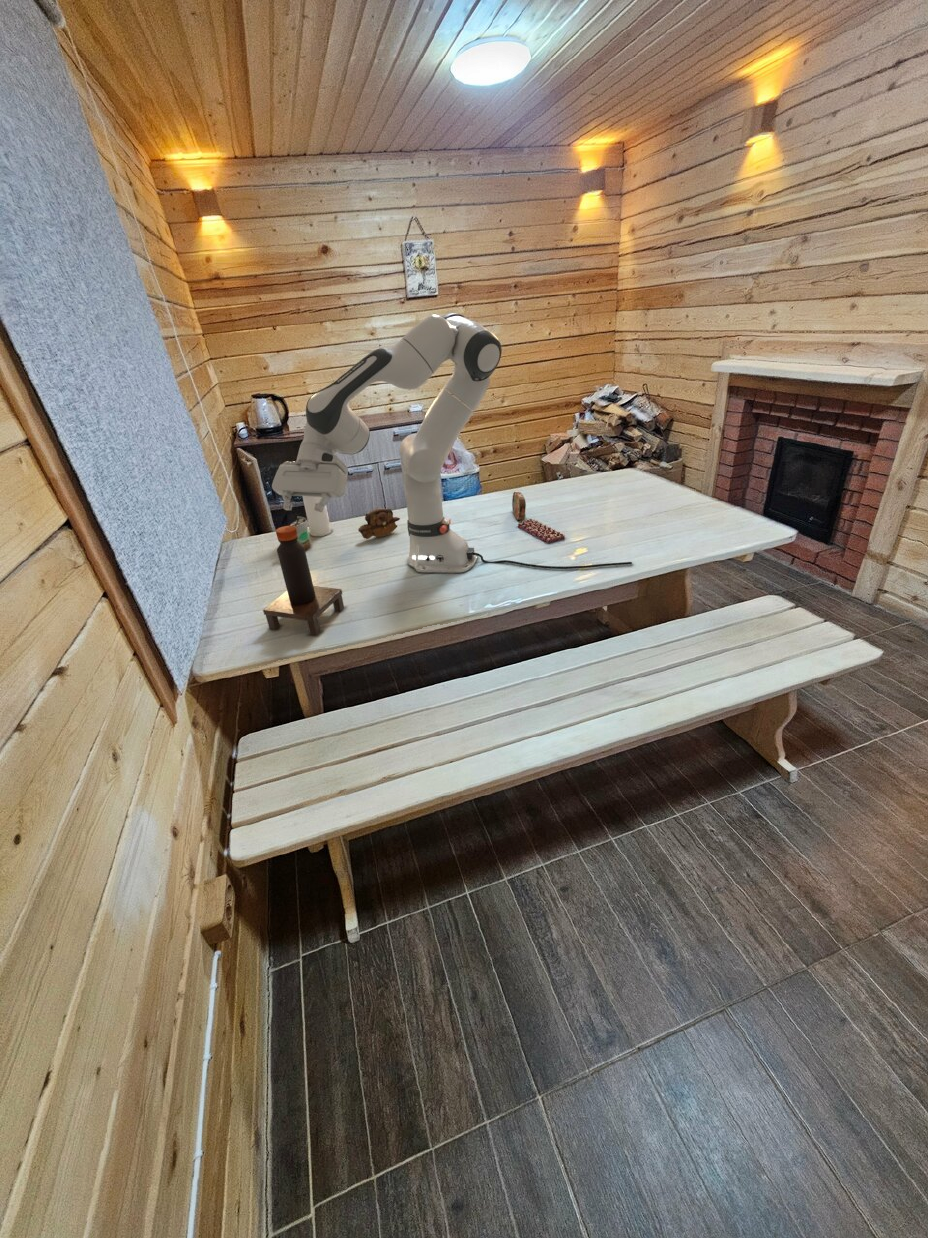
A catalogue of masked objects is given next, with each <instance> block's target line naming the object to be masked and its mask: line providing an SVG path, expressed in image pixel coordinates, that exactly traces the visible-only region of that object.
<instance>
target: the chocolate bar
mask: <svg viewBox="0 0 928 1238" xmlns="http://www.w3.org/2000/svg"><path fill="white" fill-rule="evenodd" d="M521 521H522V522H519V523H517V528H518V529H520V530H522V531H524V532H526V533H528V534H529V535H532V537H535V538H537V539H539V540H541V541H542V542H544V543H546V544H550V543H555V542H557V541H561V540H565V537H566V535H565V534H564V533H563V532H561V531H557V530H556V529H555V528H551V526H547V524H544V523H542V522H539V521H538V520H536V519H532V518H529V519H526V520H521Z"/></svg>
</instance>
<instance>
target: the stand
mask: <svg viewBox="0 0 928 1238" xmlns="http://www.w3.org/2000/svg"><path fill="white" fill-rule="evenodd" d="M313 587H314V592H315V599H314V600H313V601H311V602H309V603H307V604H303V605H295V604H292V603H291V602H290V599H289V596H288V592H287V590H286V591H284V592H283V593H282V594H281V595H280V596H279V597H277V598H276V599H274V600H273V601H272V602H271V603H270V604H268V605H267V606H266V607H265V608H263V609H262V611H263V615H265V618H266V622H267V625H268V629H269V630H276V631H277V629H279V628H280V627H281V624H280V620H279V618H285V619H291V620H292V619H293V620H300V621H306V622H307V627H308V631H309V634H310V636H318V635H319V634H320V633H321V632H322V631H321V625H320V621H319V617H320V616H322V614H323V613H324V612H325V611H326V610H327V609H328V608H329V607H330V606H332V604H333V609H334V611H335V612H342V611H343V610H344V609H345V604H344V599H343V590H342V588H337V587H336V588H335V587H334V588H333V587H327V586H326V587H325V586H318V585H313Z"/></svg>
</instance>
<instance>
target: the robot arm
mask: <svg viewBox="0 0 928 1238" xmlns="http://www.w3.org/2000/svg"><path fill="white" fill-rule="evenodd" d="M502 348H503V347H502V344H501V342H500V341H499V338H498V337H497V336H496V335H495V334H494V333H493V332H492V331H490V330H488V329H487V328H486V327H484V326H483V325H482V324H480V323H478V322H477V321H475V320H472V319H470V318H468V317H465V315H463V314H461V313H455V312H452V313H447V314H443V316H442V315H439V314H430V315H428V316H426V317H425V318H424V319H422V320H421V321H419V322H418V323H417V324H415V326H413V327H412V328H411V329H410V330H409V331H408V332H407V333H406V334H405V335H404V336H403V337H402V338H401V339H400V340H399V341H398V342H397V343H396V344H394V345H392V346H390V347H388V348H382V347H379V348H377V349H375V350H373V351H370V352H369V353H368V354H367V355H365V356H364V357H363V358H361V359H360V360H359V361H358V362H356V363H355V364H354V365H353V366H352V367H350V368H349V369H348V370H346V371H345V372H344V373H342V374H341V375H339V377H337V378H336V379H335V380H333V382H331V383H330V384H328V385H327V386H325V387H323V388H321V389H320V390H318V391H316V392H314V393H313V394H312V395H311V396H310V397H309V398H308V400H307V401H306V406H305V417H306V418H305V419H306V422H305V426H304V429H303V439H302V441H301V443H300V445H299V449H298V452H297V456H296V460H295V461H293V460H292V461H289V460H287V461H284V462H283V463H281V464H280V465H279V466H278V469H277V471H276V473H275V475H274V477H273V481H272V484H271V489H272V490H273V491H274V492H275V493H276V494H278V495H279V496H281V497H282V500H283V505H282V508H283V509H284V511H292V509H293V504H292V503H291V499H292V496H293V497H302V496H312V497H322V499H321V500H320V502H319V503H316V504H315V508H314V509H315V511H317V512H323V509H324V506H325V505H326V506H327V505H328V504H329V502H330V501H331V498H335V499H337V498H338V499H340V498H341V499H342V497H343V496H344V495H345V494H346V489H347V484H348V477H347V473H348V471H349V468H348V466H347V465H346V464H345V462H344V461H343V460H342V459H340V457H339V456H338V455H336V453H338V454H342V455H356V454H359V453H361V452H362V451H363V450H365V448H366V447H367V445H368V443H369V440H370V434H371V433H370V428H369V426H368V425H367V424H366V423H365V422H364V420H362V418H361V417H360V416H359V415H358V414H357V413H355V412H354V411H353V410H352V408H350V406H349V402H351V401H352V400H353V399H354V398H355V397H357V396H358V395H360V393H361V392H363V391H364V390H365V389H366V388H368V387H369V386H370V385H372V384H374V383H377V382H385V383H388V384H389V385H392V386H395V387H397V388H399V389H402V390H416V389H419V388H420V387H422V386H423V385H424V384H425V383H426V382H427V381H428V380H429V379H430V378H431V377H432V376H433V375H434V374H435V373H436V371H437V370H438V369H439V368H440V367H441V365H442V364H443V363H444V362H446V361H448V360H450V361H451V362H452V363H454V367H453V372H452V374H451V376H450V377H449V378H448V379H447V381H446V382H445V383H444V385H443V386H442V388H441V390H440V391H439V392H438V394H437V395H436V397H435V399H434V400H433V402H432V403H431V404H430V406H429V408H428V409H427V411H426V413H425V416H424V419H423V420H422V422H421V425H420V426H419V428H418V431H417V432H415V433H411V434H408V435H407V436H405V437H404V438H403V439H402V441H401V443H400V446H399V460H400V467H401V474H402V481H403V488H404V494H405V501H406V513H407V522H406V523H407V532H408V537H409V553H408V559H407V563H408V565H409V566H410V567H412V568H413V569H415V571H416V572H417V573H451V574H452V573H455V574H456V573H465V572H467V571H469V570H470V569H472V567H474V565H475V564H476V562H477V559H478V557H479V558H480V560H481V562H482V563H484V564H503V563H505V564H506V563H507V564H512V565H513V564H514V565H520V566H525V567H531V568H537V569H538V568H539V569H549V570H551V569H552V570H574V569H589V568H591V569H592V568H599V567H600V568H601V567H611V566H624V565H625V566H626V565H632V564H633V561H623V562H610V563H599V564H598V563H597V564H589V565H588V564H587V565H571V566H570V565H569V566H560V565H559V566H556V565H555V566H554V565H540V564H531V563H525V562H520V561H515V560H509V559H507V560H506V559H503V560H494V561H488V560H485V559H484V556H483V555H482V554H480V553H478V552H475V547H469V544H468V542H467V540H466V538H464V537H462V536H461V535H459V534H458V533H457V532H455V531H453V530H452V529H451V528H450V527H451V526H450V524H451V521H452V519H448V520H447V518H445V516H444V509H443V497H442V496H443V495H442V488H441V484H440V477H439V476H440V474H441V472H442V469H443V466H444V465H445V462H446V461H447V459H448V457H449V455H450V453H451V451H452V449H453V447H454V445H455V442H456V441H457V439H458V437H459V436H460V434H461V432H462V431H463V429H464V428H465V427H466V425H467V423H468V422H469V420H470V419H471V417H472V416H473V415H474V413H475V412H476V410H477V409H478V407H479V405H480V404H481V402H482V400H483V399H484V396H485V395H486V393H487V391H488V388H489V386H490V383H491V376H492V374H493V373H494V372H495V370H496V369H497V367H498V366H499V363H500V361H501V357H502V351H503V349H502Z"/></svg>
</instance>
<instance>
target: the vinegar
mask: <svg viewBox="0 0 928 1238" xmlns="http://www.w3.org/2000/svg"><path fill="white" fill-rule="evenodd" d="M275 534H276V537H277V540H278V542H279V545H278V546H277V548H276V553H277V557H278V560H279V565H280V570H281V572H282V576H283V580H284V584H285V588H286V591H287V592H288V596H289V599H290V602H291V603H292V604H295V605H303V604H307V603H309V602H311V601H313V600H314V599H315V592H314V587H313V586H314V583H313V579H312V578H313V577H312V575H311V570H310V567H309V561H308V557H307V553H306V551H305V548H304V545H303V544H302V543H300V542H299V541H298V540H297V539H298V535H297V530H296V527H294V526H288V525H285V526H281V527H278V528H277V529H275Z"/></svg>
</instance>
